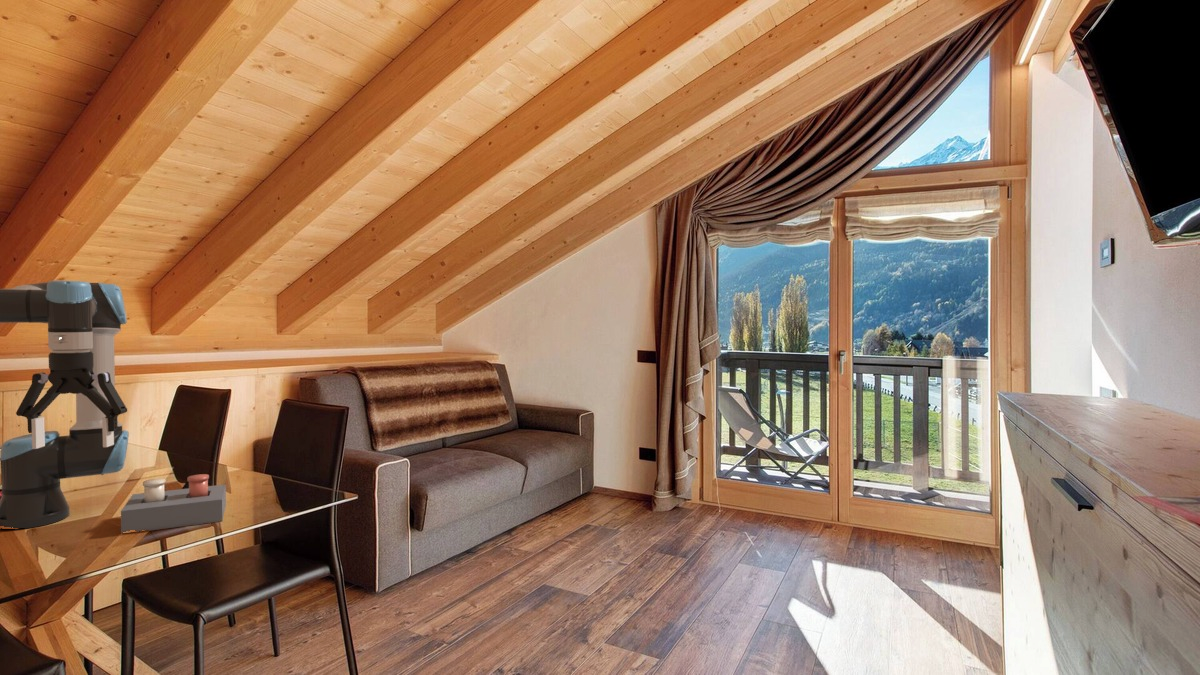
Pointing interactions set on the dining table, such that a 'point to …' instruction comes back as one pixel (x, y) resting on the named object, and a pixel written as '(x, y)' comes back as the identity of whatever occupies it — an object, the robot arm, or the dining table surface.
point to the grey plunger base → (174, 510)
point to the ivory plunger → (154, 490)
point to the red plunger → (198, 485)
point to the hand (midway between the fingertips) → (73, 446)
